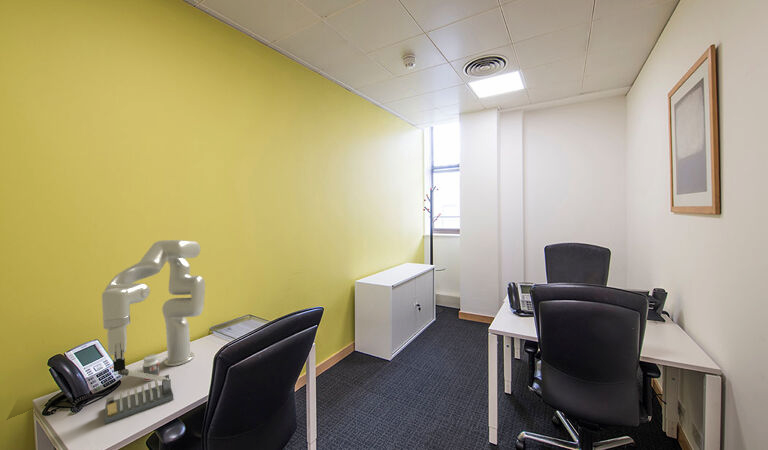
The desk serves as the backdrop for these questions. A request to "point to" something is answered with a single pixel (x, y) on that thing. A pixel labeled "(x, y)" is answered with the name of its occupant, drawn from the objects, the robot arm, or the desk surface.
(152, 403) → the grey slotted rack
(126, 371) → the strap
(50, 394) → the desk surface
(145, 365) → the pill bottle
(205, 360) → the desk surface
